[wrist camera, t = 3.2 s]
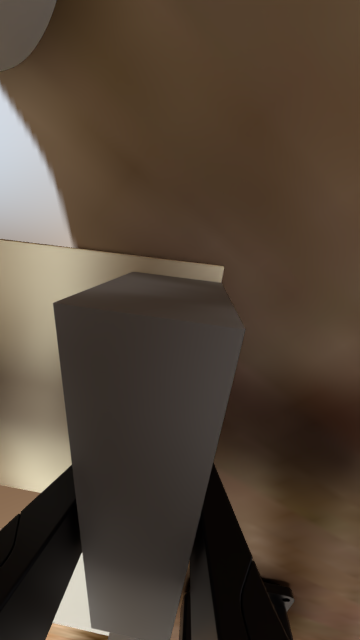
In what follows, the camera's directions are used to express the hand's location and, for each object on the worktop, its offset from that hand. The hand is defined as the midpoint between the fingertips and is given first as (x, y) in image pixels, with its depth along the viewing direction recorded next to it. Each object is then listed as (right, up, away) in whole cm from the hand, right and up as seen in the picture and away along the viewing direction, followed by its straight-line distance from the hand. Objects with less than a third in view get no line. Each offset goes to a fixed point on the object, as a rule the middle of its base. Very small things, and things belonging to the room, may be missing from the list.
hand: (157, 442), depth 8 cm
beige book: (-8, +2, +2) cm, 9 cm away
